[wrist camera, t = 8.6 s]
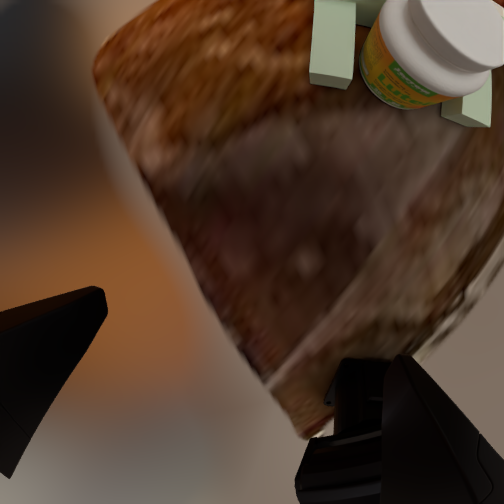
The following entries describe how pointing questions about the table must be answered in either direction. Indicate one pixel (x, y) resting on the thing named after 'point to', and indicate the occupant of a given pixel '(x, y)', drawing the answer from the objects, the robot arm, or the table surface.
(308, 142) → the table surface
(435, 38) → the supplement bottle
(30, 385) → the robot arm
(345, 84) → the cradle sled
